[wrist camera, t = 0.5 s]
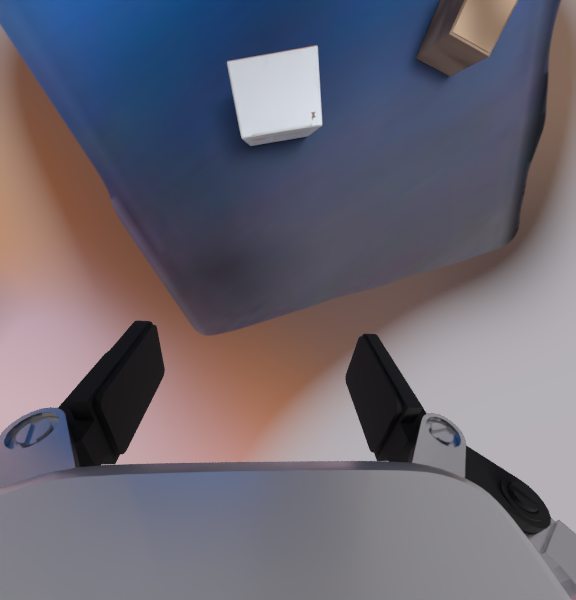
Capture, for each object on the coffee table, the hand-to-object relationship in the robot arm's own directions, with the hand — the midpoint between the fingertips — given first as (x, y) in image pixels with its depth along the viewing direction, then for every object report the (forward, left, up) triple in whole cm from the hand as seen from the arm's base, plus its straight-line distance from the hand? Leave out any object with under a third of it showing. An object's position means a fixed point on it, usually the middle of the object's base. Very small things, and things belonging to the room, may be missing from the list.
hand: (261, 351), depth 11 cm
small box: (-13, -2, -29) cm, 32 cm away
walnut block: (-26, +15, -29) cm, 42 cm away
